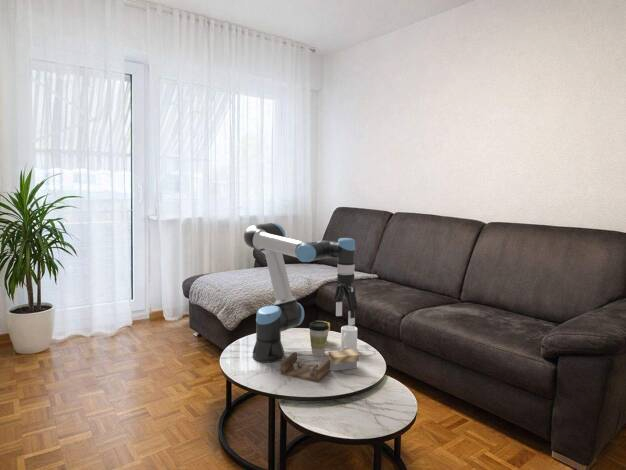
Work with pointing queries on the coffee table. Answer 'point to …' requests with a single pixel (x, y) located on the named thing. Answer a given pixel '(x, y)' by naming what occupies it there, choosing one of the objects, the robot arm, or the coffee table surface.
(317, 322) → the coffee cup
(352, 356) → the board
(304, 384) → the coffee table surface
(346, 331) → the mug
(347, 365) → the wedge
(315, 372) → the cradle
